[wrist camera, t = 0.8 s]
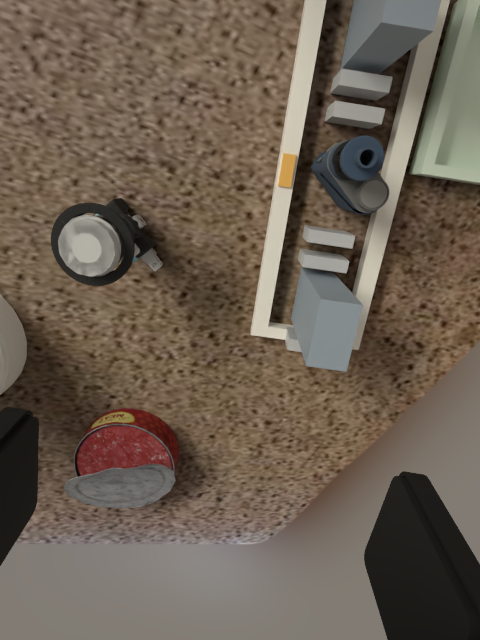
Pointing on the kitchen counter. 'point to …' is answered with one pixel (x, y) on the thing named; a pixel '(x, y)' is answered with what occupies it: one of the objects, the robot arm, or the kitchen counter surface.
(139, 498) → the canned food
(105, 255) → the push button
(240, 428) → the kitchen counter surface
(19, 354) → the honey pot
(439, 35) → the rail
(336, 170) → the vaping device
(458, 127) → the tray
